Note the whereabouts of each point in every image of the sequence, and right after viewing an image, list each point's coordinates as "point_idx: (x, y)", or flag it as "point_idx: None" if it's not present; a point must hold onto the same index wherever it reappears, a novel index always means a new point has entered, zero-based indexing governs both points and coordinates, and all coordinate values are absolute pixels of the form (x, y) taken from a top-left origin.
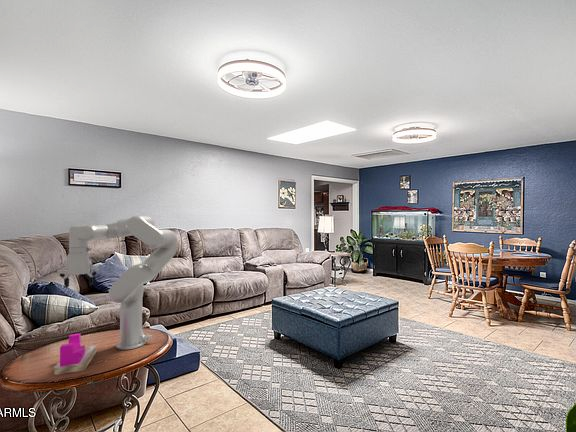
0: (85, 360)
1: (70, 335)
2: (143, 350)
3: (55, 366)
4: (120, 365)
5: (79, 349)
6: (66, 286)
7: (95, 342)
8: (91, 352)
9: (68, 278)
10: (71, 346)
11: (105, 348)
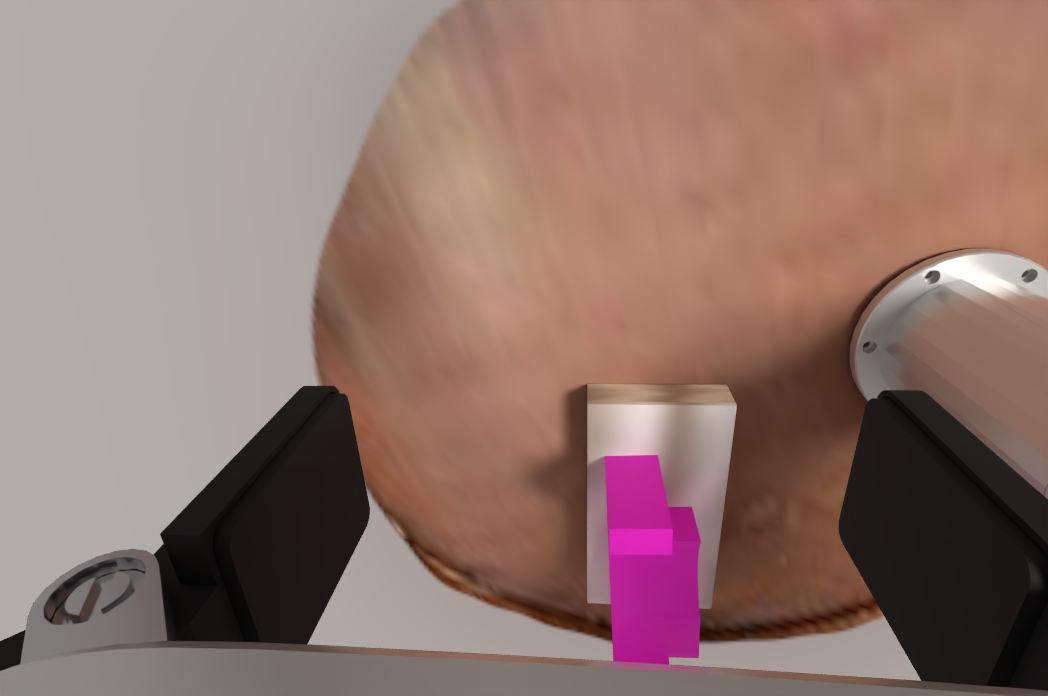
0: (711, 588)
1: (615, 545)
2: None
3: (589, 597)
4: (860, 590)
5: (693, 630)
6: (353, 535)
7: (694, 182)
8: (724, 500)
9: (212, 549)
10: None
11: (777, 339)
